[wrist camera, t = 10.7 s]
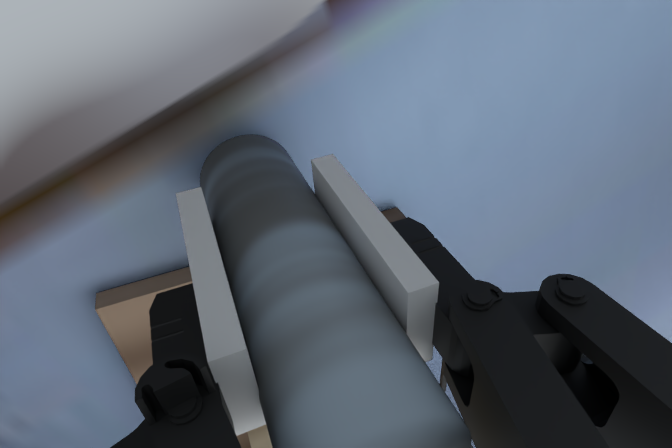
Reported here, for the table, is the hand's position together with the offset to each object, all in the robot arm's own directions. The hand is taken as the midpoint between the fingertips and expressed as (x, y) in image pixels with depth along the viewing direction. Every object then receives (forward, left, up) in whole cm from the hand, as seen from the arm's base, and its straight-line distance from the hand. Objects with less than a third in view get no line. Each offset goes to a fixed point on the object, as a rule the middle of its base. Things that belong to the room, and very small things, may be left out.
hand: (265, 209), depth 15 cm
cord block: (+10, 0, -3) cm, 10 cm away
